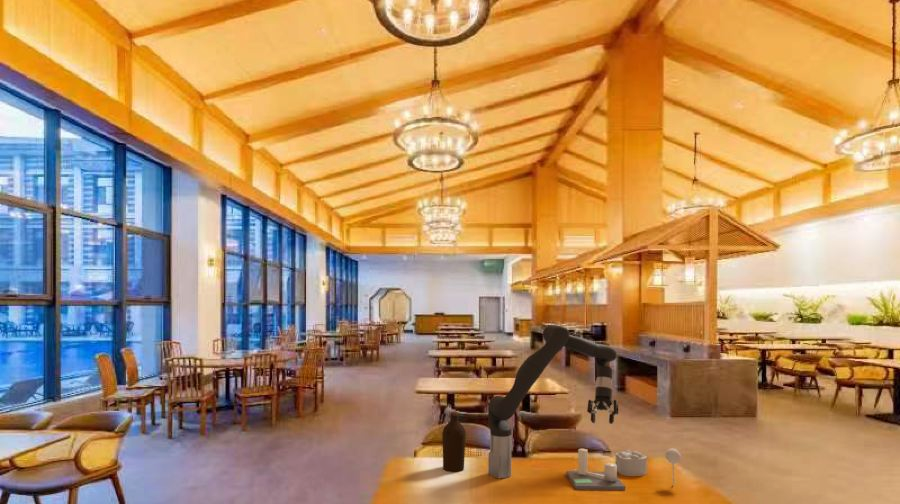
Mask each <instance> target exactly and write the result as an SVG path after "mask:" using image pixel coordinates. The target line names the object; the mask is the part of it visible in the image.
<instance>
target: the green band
mask: <svg viewBox="0 0 900 504" xmlns="http://www.w3.org/2000/svg"><path fill="white" fill-rule="evenodd" d="M573 480H574V481H575V482H576V483H593V482H592V481H591V480H590V479H573Z"/></svg>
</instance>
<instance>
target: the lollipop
mask: <svg viewBox="0 0 900 504" xmlns="http://www.w3.org/2000/svg"><path fill="white" fill-rule="evenodd" d="M664 455H665V459H666V460H667V462H668V463H671V464H672V486H673V485H674V486H675V464H678V463H679V462H680V461H681V458H682V455H681V453H680V451H679V450H678V449H676V448H672V447H671V448H668V449H667V450H666V452H665V453H664Z"/></svg>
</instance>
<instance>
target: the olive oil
mask: <svg viewBox="0 0 900 504" xmlns="http://www.w3.org/2000/svg"><path fill="white" fill-rule="evenodd" d="M441 435H442V438H441V439H442V469H443V470H444V471H446V472H450V473H458V472H462V471H464V470H465V453H466V441H467V440H466V439H467V433H466V428H465V427H464V425H463V424H462V423H461V422H460V421H459V412H458V411H455V410H453V411H450V421H448V422H447V423H446V425H445V426H444V427H443V429H442V433H441Z"/></svg>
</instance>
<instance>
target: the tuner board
mask: <svg viewBox="0 0 900 504" xmlns="http://www.w3.org/2000/svg"><path fill="white" fill-rule="evenodd" d="M588 472H591V473H596V474H601V475H604V471H599V470H598V471H596V470H595V471H591V470H590V471H589V470H588ZM565 475H566V477H567V478H568V480H569V481H570V483H571V484H572V486H573V487H574V489H575V490H579V491H580V490H581V491H583V490H584V491H587V490H589V491H590V490H591V491H595V490H598V491H626V485H624V483H623V482H622V481H621V480H620V479H619V478H618V477H617V481H615V482H610V481H606V480H605V479H604V478H602V477H597V476H593V475H588V474H586V475H582V474H578V472H574V470H566V471H565ZM573 479H590V480H591V481H592V482H593V483H576V482H575V481H574V480H573Z"/></svg>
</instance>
